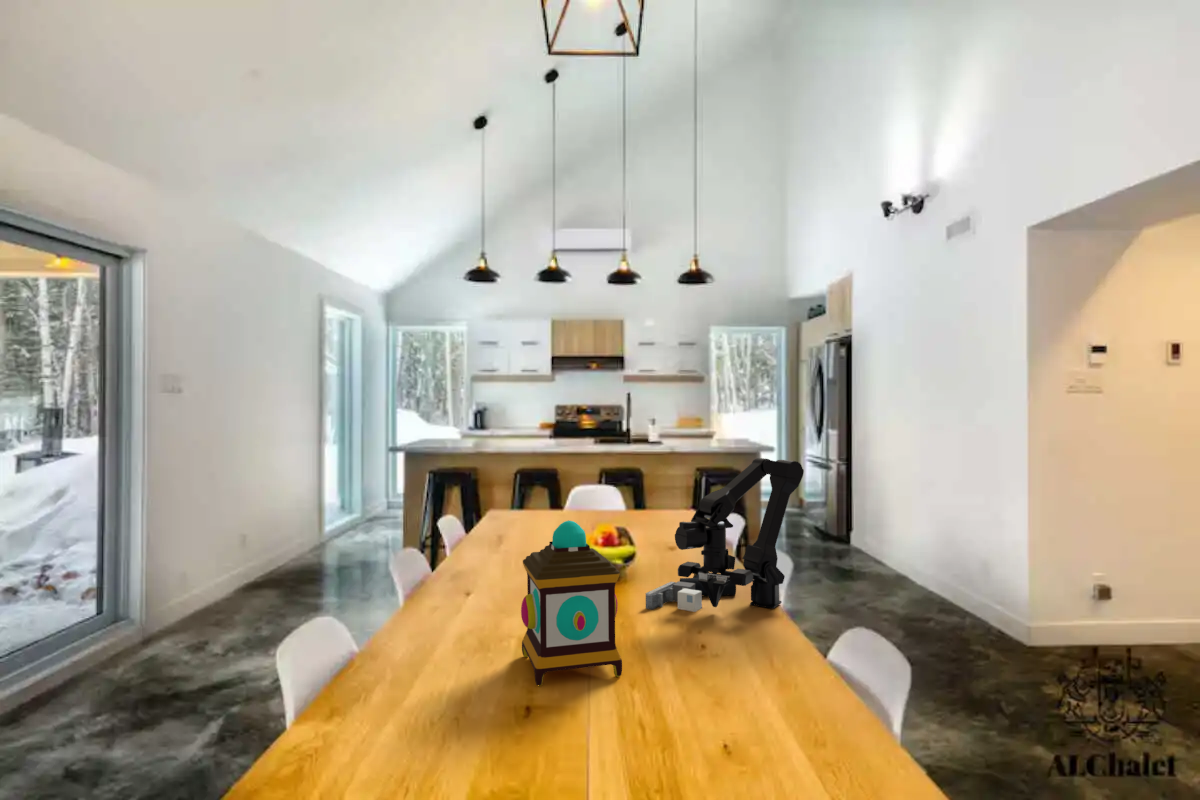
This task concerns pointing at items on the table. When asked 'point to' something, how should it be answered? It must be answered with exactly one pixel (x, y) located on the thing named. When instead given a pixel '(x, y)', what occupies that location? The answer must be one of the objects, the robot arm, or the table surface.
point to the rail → (660, 596)
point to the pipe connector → (728, 589)
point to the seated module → (680, 586)
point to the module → (689, 599)
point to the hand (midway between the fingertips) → (715, 606)
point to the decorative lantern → (569, 606)
